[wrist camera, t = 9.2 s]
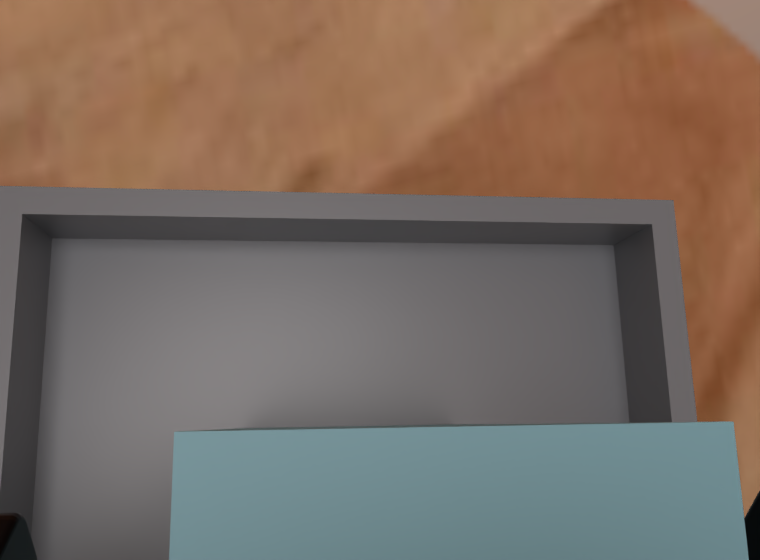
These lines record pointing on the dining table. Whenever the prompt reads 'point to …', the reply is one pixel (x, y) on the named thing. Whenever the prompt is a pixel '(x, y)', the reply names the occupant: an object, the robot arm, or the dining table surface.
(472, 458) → the light blue block
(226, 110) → the dining table surface
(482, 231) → the grey footed tray
